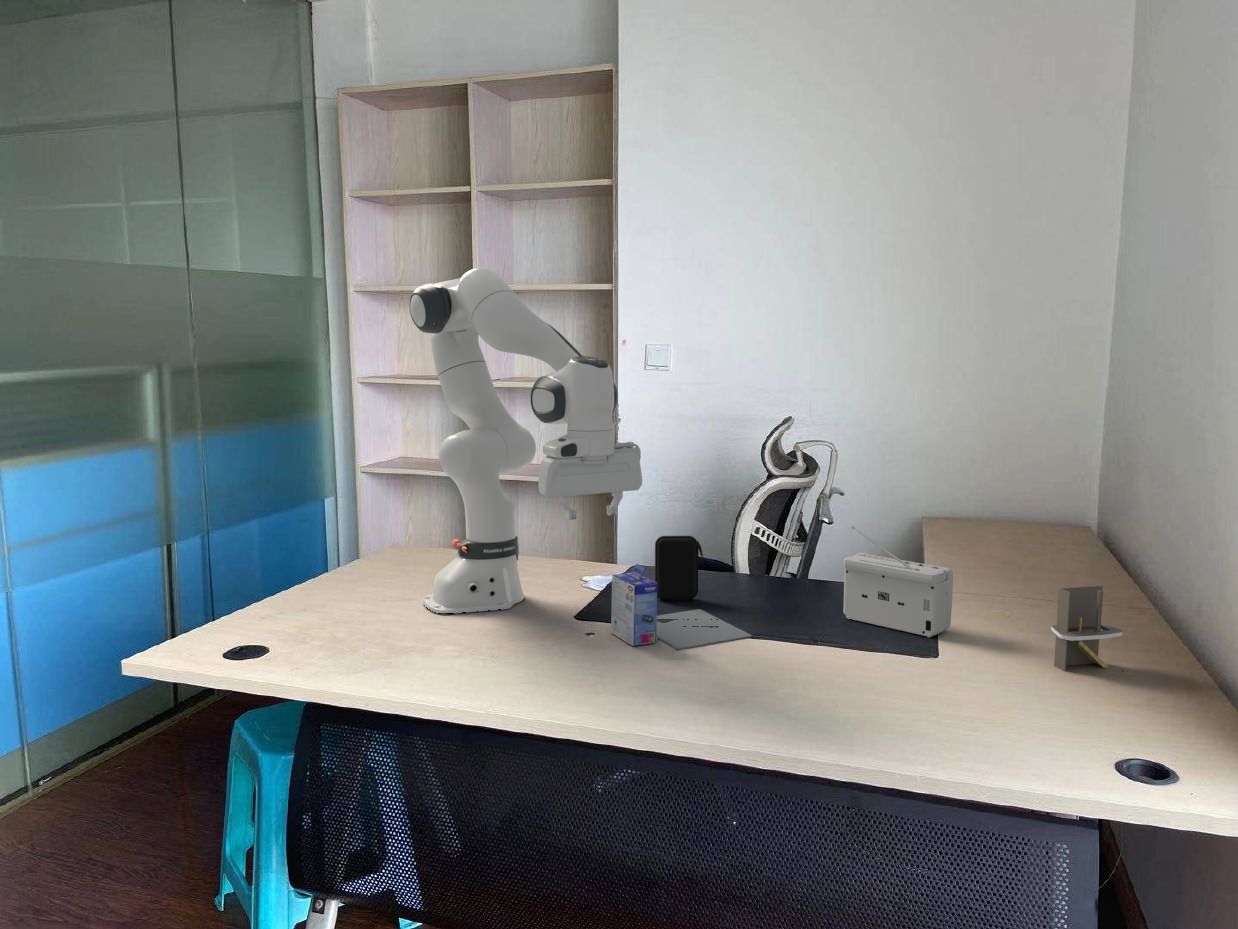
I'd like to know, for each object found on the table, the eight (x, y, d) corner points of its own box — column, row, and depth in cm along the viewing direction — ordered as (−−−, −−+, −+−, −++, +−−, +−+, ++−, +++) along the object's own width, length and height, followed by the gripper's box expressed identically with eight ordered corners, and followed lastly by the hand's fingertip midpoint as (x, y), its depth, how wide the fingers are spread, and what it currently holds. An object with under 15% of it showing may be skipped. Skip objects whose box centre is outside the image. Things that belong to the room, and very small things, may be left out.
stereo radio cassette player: (952, 631, 187) (956, 533, 184) (934, 641, 181) (938, 540, 178) (857, 611, 201) (860, 519, 198) (838, 619, 195) (840, 525, 192)
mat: (677, 650, 177) (677, 648, 177) (629, 621, 195) (629, 620, 194) (752, 637, 184) (752, 635, 184) (699, 610, 202) (699, 609, 202)
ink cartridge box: (658, 643, 181) (658, 570, 179) (633, 648, 178) (633, 574, 176) (634, 629, 190) (634, 559, 187) (610, 633, 187) (609, 562, 185)
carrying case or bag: (701, 598, 212) (702, 534, 209) (703, 601, 208) (703, 537, 206) (654, 598, 211) (654, 534, 209) (655, 602, 208) (655, 537, 206)
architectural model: (1185, 683, 159) (1192, 600, 157) (1055, 695, 155) (1060, 609, 153) (1105, 646, 179) (1110, 571, 177) (986, 655, 174) (990, 579, 172)
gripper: (632, 439, 182) (632, 509, 184) (534, 445, 173) (535, 519, 175) (648, 442, 176) (648, 514, 178) (547, 449, 167) (548, 525, 169)
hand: (591, 517), depth 177 cm, fingers open, 7 cm apart
